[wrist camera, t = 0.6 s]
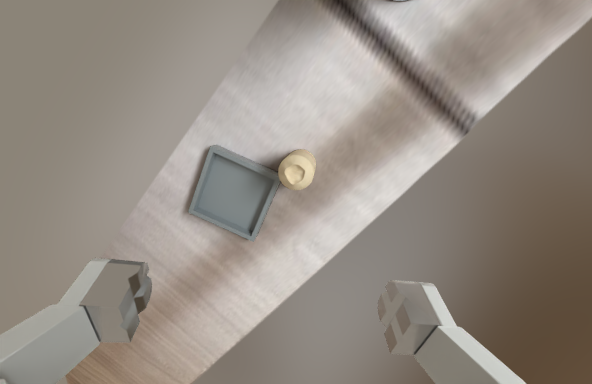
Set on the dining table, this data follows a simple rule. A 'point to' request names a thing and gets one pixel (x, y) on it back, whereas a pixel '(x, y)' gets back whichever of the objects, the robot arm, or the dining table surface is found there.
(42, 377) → the robot arm
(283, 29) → the dining table surface
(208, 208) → the serving tray
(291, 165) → the candle
